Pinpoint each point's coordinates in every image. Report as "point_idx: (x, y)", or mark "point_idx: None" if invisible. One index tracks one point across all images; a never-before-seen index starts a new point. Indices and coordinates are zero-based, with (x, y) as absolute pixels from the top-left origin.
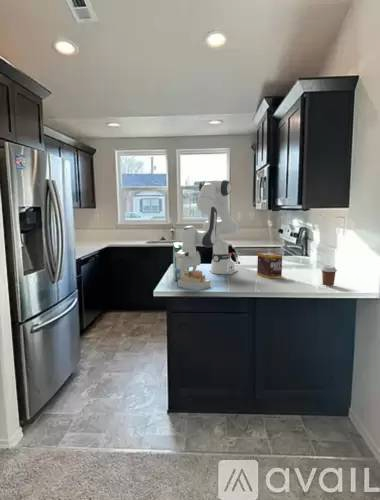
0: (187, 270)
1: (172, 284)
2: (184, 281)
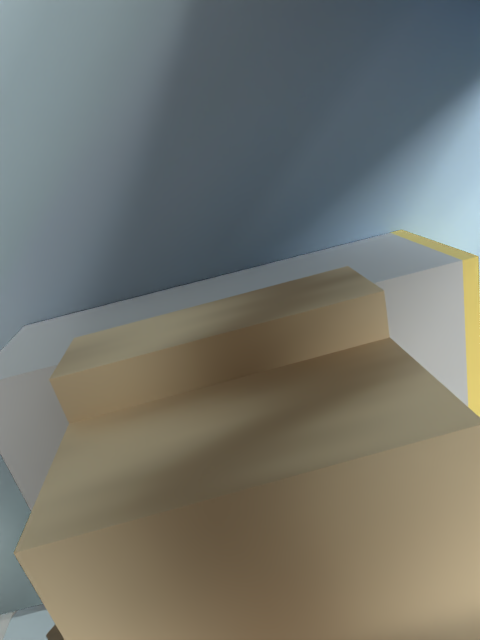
0: (425, 470)
1: (13, 76)
2: None
